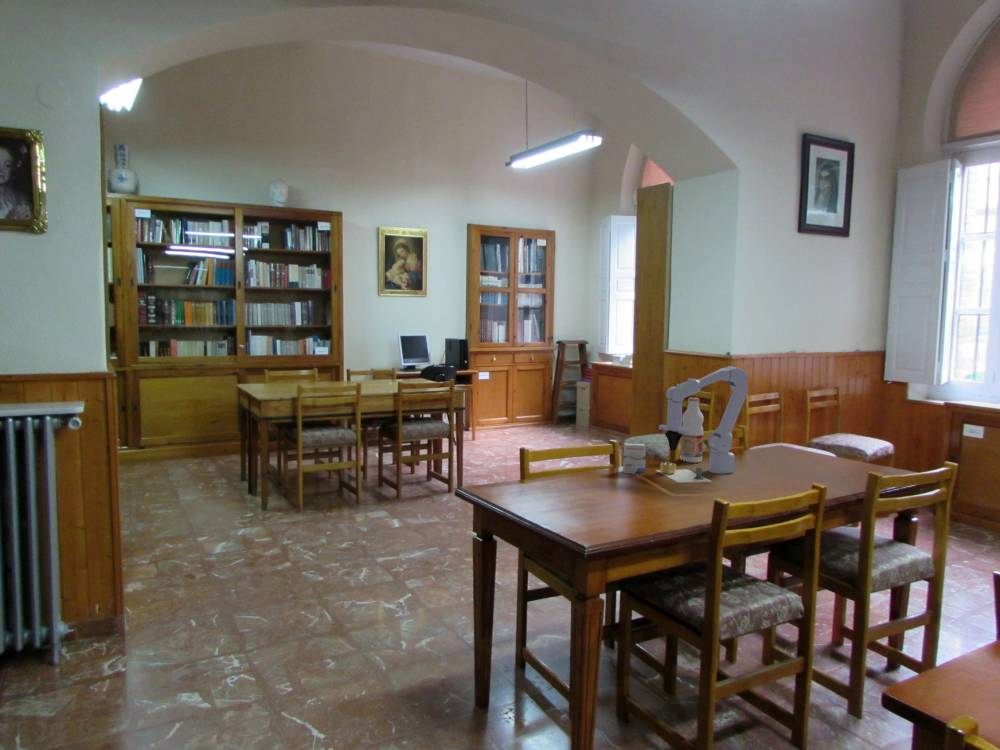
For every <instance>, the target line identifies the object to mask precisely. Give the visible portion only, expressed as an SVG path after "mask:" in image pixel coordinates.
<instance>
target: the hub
mask: <svg viewBox="0 0 1000 750" xmlns="http://www.w3.org/2000/svg"><path fill="white" fill-rule="evenodd" d="M666 463H667V464H666V465H671V464H670V463H671V462H670V461H666ZM662 473H663V474H674V473H664V472H662ZM663 474H662V475H663Z"/></svg>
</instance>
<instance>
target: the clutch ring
mask: <svg viewBox="0 0 1000 750" xmlns="http://www.w3.org/2000/svg"><path fill="white" fill-rule="evenodd" d="M666 464H667V462H661V463H660V465H659V467H660V471H661V472H664V473H675V472H676V470H677V464H676V463H673V462H670V464H671V465H666Z"/></svg>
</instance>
